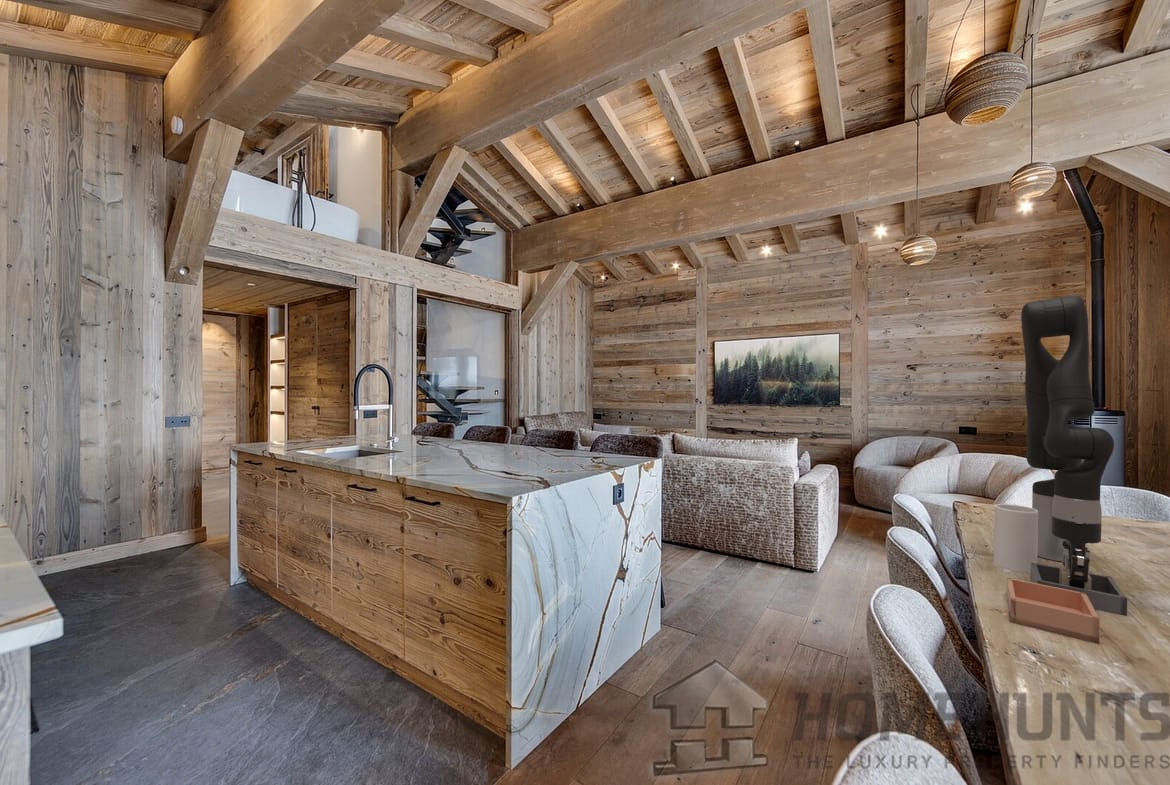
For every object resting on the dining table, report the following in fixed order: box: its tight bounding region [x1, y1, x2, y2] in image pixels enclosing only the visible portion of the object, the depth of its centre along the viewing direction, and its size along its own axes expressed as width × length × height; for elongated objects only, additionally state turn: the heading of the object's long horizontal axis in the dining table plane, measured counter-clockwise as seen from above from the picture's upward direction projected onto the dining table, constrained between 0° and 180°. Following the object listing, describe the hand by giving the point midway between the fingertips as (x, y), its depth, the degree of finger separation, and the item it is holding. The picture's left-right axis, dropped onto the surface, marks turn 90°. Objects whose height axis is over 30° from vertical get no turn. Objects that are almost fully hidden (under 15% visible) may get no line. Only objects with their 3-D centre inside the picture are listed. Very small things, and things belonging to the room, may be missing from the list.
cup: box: [993, 503, 1039, 573], centre depth 119 cm, size 8×8×16 cm
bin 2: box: [1030, 562, 1128, 617], centre depth 103 cm, size 14×13×4 cm
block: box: [1059, 567, 1092, 590], centre depth 103 cm, size 4×4×5 cm
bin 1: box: [1006, 577, 1101, 644], centre depth 94 cm, size 14×12×4 cm
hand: (1074, 593), depth 103 cm, fingers closed on block, 4 cm apart
